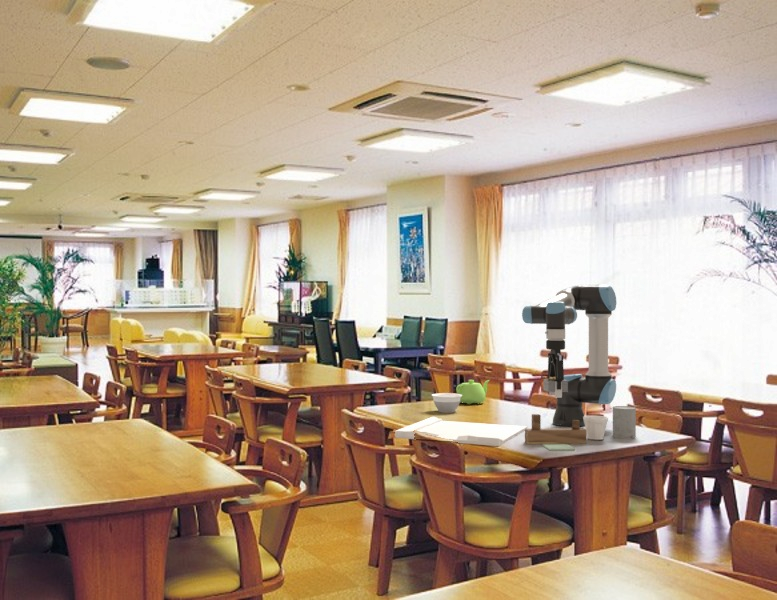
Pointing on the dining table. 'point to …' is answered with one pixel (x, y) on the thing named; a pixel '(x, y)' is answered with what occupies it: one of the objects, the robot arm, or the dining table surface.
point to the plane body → (554, 433)
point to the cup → (595, 426)
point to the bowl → (446, 401)
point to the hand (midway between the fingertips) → (555, 396)
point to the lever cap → (550, 385)
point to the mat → (557, 447)
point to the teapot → (472, 392)
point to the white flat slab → (462, 431)
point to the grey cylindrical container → (624, 422)
